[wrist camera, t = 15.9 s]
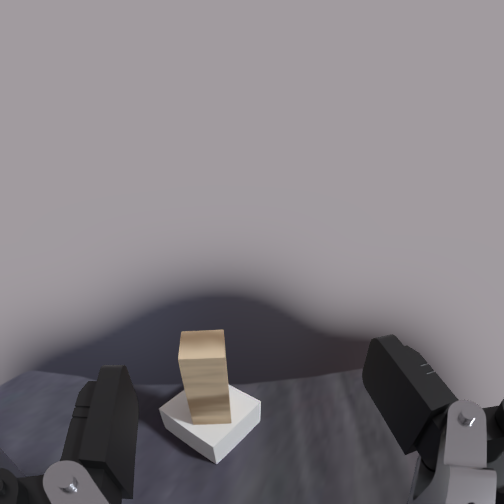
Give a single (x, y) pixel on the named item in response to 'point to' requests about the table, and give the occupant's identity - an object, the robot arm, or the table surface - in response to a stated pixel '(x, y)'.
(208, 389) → the maple pillar
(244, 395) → the grey base block
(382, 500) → the table surface
